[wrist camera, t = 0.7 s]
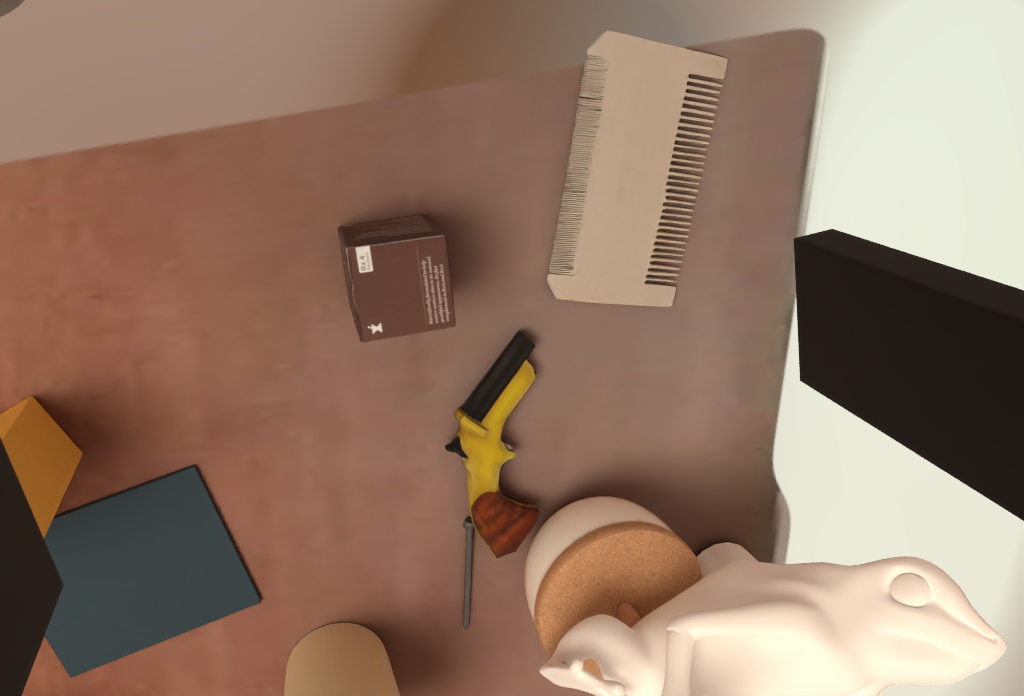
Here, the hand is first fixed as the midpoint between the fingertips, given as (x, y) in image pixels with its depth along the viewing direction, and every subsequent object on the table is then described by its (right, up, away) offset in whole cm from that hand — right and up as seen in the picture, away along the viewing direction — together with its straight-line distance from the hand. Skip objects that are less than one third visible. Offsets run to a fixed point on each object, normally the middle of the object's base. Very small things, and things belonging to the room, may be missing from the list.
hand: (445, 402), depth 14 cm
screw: (-2, -17, +53) cm, 55 cm away
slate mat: (-26, -15, +46) cm, 55 cm away
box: (-7, +7, +44) cm, 45 cm away
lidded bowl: (+7, -15, +55) cm, 58 cm away
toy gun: (+5, -9, +52) cm, 53 cm away
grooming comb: (+15, +12, +47) cm, 51 cm away
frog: (+9, -17, +50) cm, 54 cm away
